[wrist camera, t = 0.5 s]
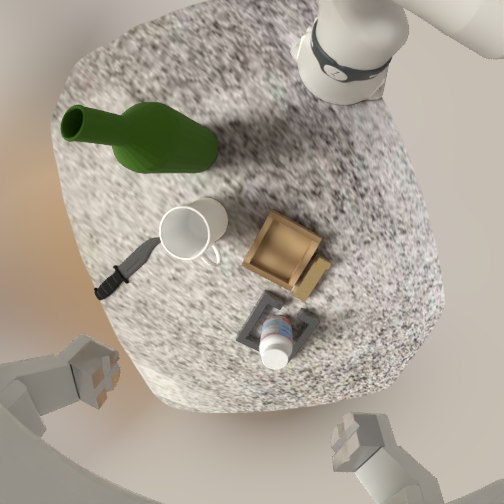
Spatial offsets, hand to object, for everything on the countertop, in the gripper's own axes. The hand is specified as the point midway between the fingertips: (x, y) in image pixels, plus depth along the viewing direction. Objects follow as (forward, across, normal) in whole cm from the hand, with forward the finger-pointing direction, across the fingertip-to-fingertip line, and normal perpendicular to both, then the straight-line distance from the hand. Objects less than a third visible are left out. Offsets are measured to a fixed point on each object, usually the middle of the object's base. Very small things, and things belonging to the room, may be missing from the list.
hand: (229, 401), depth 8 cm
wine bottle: (+42, +17, -8) cm, 46 cm away
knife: (+43, +28, +19) cm, 54 cm away
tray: (+42, -3, +6) cm, 43 cm away
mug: (+42, +11, +6) cm, 44 cm away
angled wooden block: (+42, -10, +9) cm, 44 cm away
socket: (+42, -7, +22) cm, 48 cm away
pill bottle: (+42, -7, +22) cm, 48 cm away
